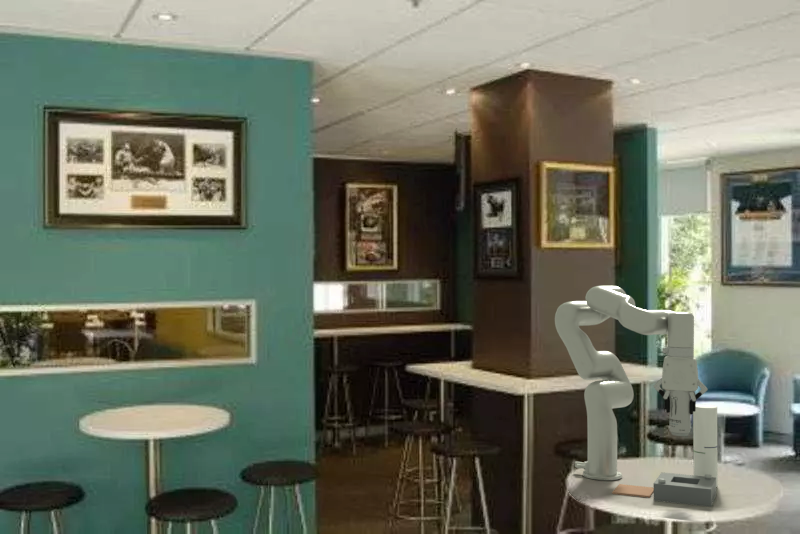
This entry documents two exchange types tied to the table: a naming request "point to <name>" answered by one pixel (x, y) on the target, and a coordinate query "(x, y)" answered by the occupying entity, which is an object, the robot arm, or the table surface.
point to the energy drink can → (679, 413)
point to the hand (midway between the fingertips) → (679, 412)
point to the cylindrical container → (705, 441)
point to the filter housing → (685, 489)
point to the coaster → (633, 490)
